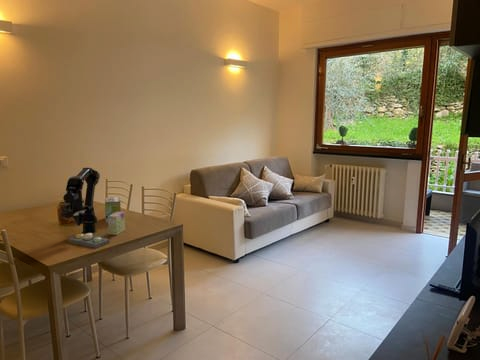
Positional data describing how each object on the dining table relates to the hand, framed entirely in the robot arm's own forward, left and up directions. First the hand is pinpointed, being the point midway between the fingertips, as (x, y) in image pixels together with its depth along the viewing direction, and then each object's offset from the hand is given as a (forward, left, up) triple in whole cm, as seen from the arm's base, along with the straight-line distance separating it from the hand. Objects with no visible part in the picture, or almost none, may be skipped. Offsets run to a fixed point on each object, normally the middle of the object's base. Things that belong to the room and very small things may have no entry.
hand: (78, 225), depth 206 cm
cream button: (0, +7, -7) cm, 10 cm away
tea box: (-41, -15, -9) cm, 45 cm away
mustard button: (0, 0, -8) cm, 8 cm away
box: (-21, +8, -9) cm, 24 cm away
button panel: (0, +7, -9) cm, 11 cm away
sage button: (0, +14, -9) cm, 16 cm away
